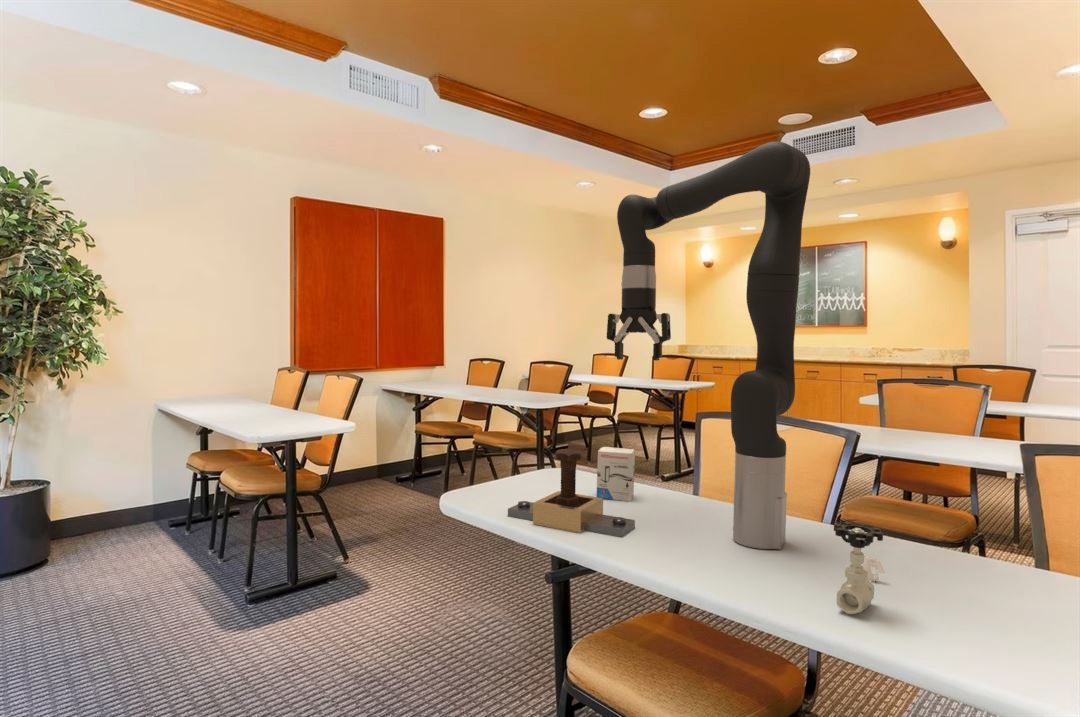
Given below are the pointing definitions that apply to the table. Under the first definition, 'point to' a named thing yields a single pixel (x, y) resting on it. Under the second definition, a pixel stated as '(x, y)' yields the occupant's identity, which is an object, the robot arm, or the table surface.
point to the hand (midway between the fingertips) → (637, 359)
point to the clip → (873, 562)
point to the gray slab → (522, 510)
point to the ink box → (615, 473)
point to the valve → (856, 568)
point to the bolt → (568, 476)
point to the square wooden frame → (566, 512)
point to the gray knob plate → (610, 525)
